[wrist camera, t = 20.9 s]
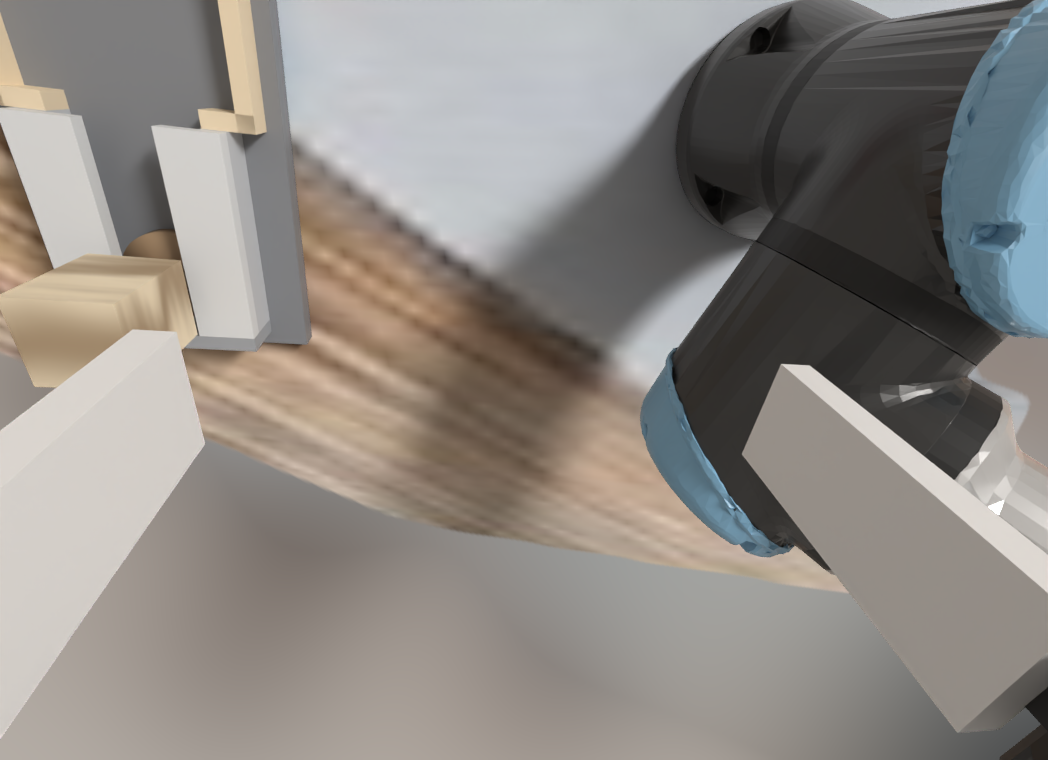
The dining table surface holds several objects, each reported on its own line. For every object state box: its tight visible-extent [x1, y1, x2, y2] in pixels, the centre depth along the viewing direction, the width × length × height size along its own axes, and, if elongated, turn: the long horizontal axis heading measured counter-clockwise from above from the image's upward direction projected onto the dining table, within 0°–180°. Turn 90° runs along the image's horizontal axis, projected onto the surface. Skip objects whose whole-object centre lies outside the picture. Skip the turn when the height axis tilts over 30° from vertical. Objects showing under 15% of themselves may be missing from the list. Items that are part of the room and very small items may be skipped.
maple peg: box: [0, 229, 198, 388], centre depth 30 cm, size 6×6×12 cm
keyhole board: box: [0, 0, 312, 352], centre depth 30 cm, size 28×16×5 cm, turn 173°
